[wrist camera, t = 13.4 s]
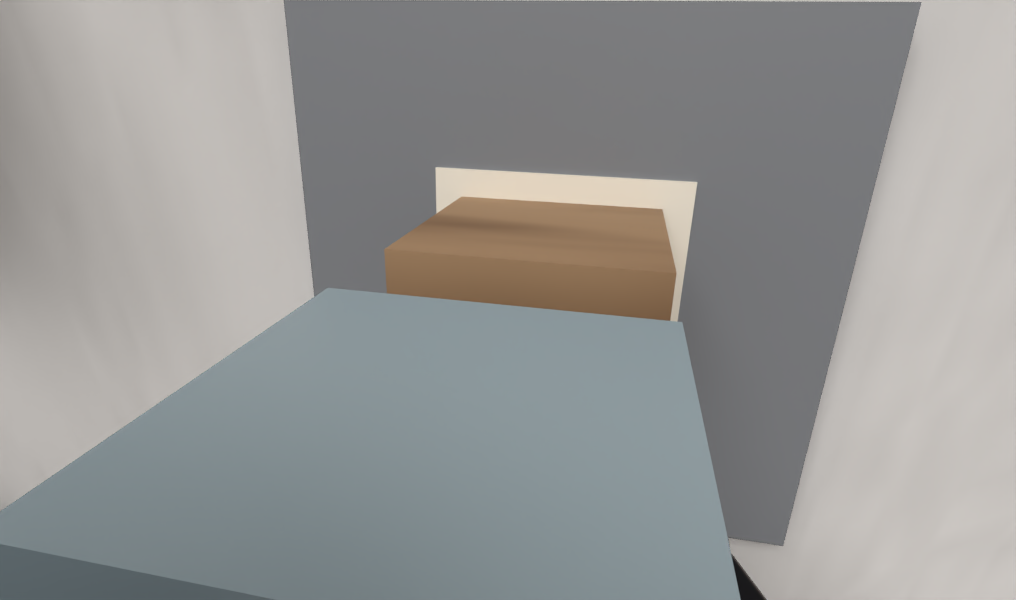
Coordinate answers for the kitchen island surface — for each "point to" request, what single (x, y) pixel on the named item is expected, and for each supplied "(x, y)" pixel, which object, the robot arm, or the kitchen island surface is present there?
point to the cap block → (397, 468)
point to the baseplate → (626, 168)
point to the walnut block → (539, 257)
